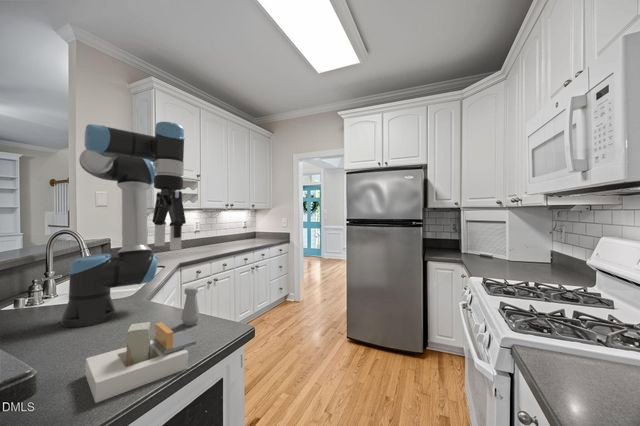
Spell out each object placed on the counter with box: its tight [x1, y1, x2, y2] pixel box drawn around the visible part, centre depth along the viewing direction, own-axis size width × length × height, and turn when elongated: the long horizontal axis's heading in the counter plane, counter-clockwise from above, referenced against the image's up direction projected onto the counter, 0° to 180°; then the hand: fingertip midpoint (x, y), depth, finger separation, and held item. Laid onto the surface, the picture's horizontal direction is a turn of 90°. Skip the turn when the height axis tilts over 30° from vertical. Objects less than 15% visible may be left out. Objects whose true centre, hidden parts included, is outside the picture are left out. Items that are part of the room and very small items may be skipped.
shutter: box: [152, 321, 197, 354], centre depth 72 cm, size 9×8×5 cm
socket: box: [85, 339, 189, 404], centre depth 66 cm, size 14×18×4 cm
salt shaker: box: [180, 285, 200, 327], centre depth 97 cm, size 6×6×13 cm
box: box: [126, 321, 152, 367], centre depth 66 cm, size 5×4×11 cm
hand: (167, 247), depth 80 cm, fingers open, 13 cm apart
